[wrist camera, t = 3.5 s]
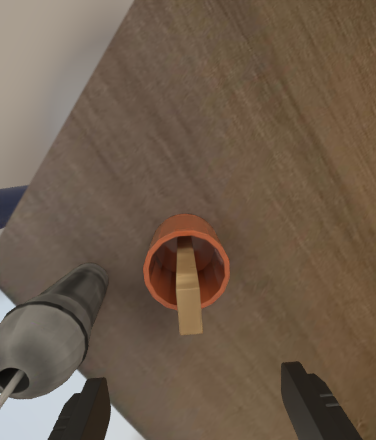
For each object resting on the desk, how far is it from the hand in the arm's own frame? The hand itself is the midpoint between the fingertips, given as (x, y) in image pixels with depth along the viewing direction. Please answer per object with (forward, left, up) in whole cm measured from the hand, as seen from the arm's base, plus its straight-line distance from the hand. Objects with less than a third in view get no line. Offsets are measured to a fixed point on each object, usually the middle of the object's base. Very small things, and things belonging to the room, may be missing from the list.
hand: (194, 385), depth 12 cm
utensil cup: (0, 0, -21) cm, 21 cm away
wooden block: (0, 0, -20) cm, 20 cm away
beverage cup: (-12, -4, -21) cm, 24 cm away
